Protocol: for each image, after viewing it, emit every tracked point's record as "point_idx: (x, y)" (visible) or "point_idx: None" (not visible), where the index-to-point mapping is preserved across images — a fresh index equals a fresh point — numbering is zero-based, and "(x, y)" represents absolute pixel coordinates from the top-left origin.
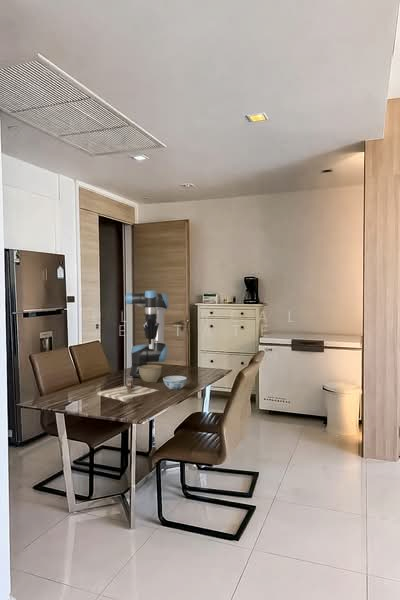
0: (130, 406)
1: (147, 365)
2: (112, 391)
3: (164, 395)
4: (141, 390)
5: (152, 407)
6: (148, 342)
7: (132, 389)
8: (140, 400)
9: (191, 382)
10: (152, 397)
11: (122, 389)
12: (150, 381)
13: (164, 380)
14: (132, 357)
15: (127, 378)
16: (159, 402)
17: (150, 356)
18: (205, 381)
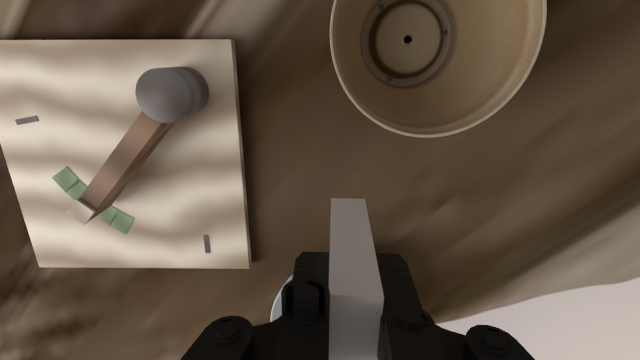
0: (31, 318)
1: None
2: (51, 101)
3: (233, 307)
4: (183, 206)
5: None
6: (294, 267)
7: (161, 154)
8: (107, 289)
9: (524, 240)
10: (174, 292)
11: (119, 109)
12: (373, 78)
13: (274, 301)
14: None
15: (138, 102)
16: (148, 356)
17: None
18: (581, 278)
